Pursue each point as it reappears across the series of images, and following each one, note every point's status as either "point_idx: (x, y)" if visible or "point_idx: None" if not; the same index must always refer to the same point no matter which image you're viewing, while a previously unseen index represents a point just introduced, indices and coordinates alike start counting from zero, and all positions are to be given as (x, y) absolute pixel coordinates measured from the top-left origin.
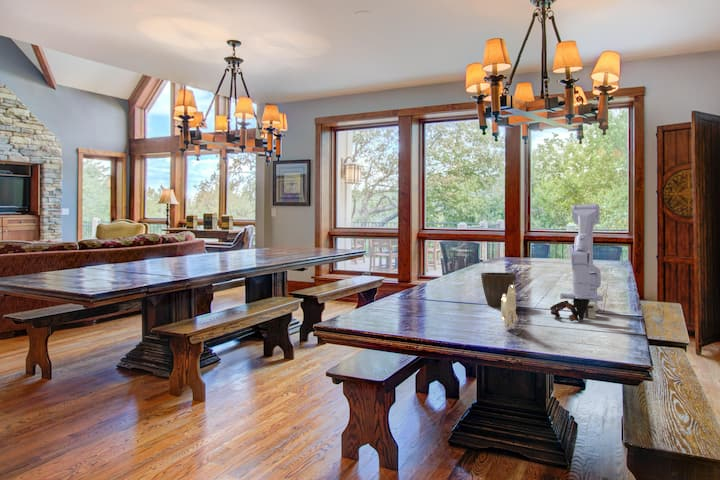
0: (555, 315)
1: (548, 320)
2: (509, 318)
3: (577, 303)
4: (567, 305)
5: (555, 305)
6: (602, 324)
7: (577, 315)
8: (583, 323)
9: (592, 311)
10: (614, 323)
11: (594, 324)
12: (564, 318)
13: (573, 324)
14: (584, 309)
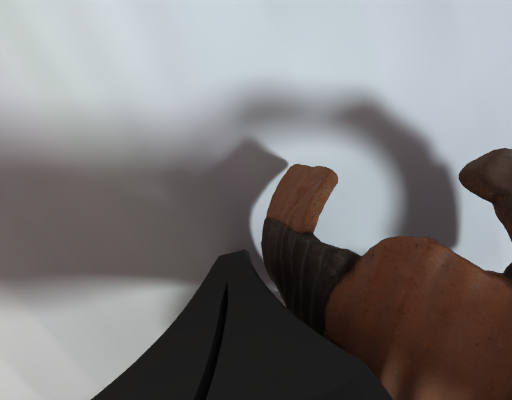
0: (493, 271)
1: (506, 101)
2: None
3: (261, 377)
4: (455, 290)
5: None
6: (40, 266)
7: (285, 300)
8: (178, 191)
9: None
10: (23, 371)
11: (80, 214)
12: None
13: (212, 44)
14: (162, 336)
